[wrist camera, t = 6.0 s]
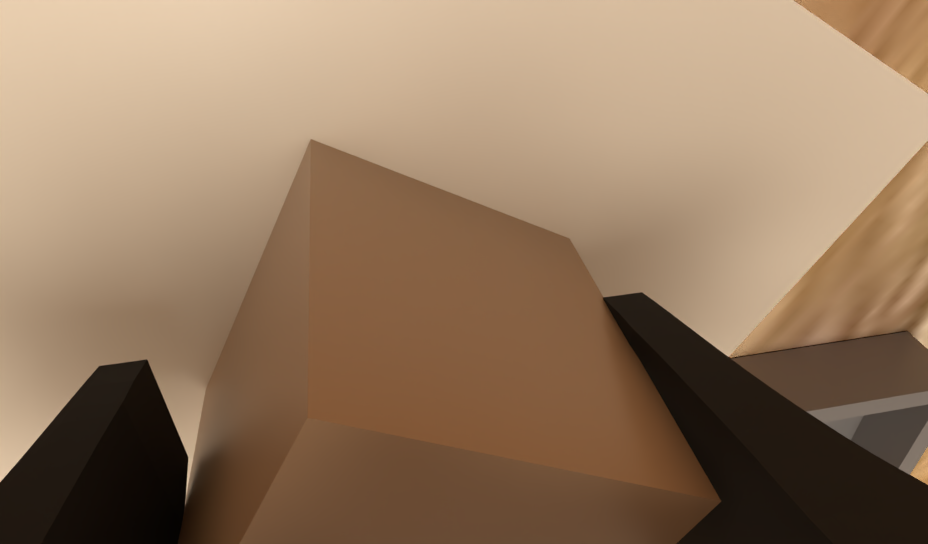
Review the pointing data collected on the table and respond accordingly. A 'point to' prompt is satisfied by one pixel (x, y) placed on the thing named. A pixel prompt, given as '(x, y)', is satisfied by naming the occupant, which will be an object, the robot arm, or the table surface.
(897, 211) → the table surface
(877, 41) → the table surface
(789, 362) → the storage box
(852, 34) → the table surface
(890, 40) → the table surface
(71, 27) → the lid
